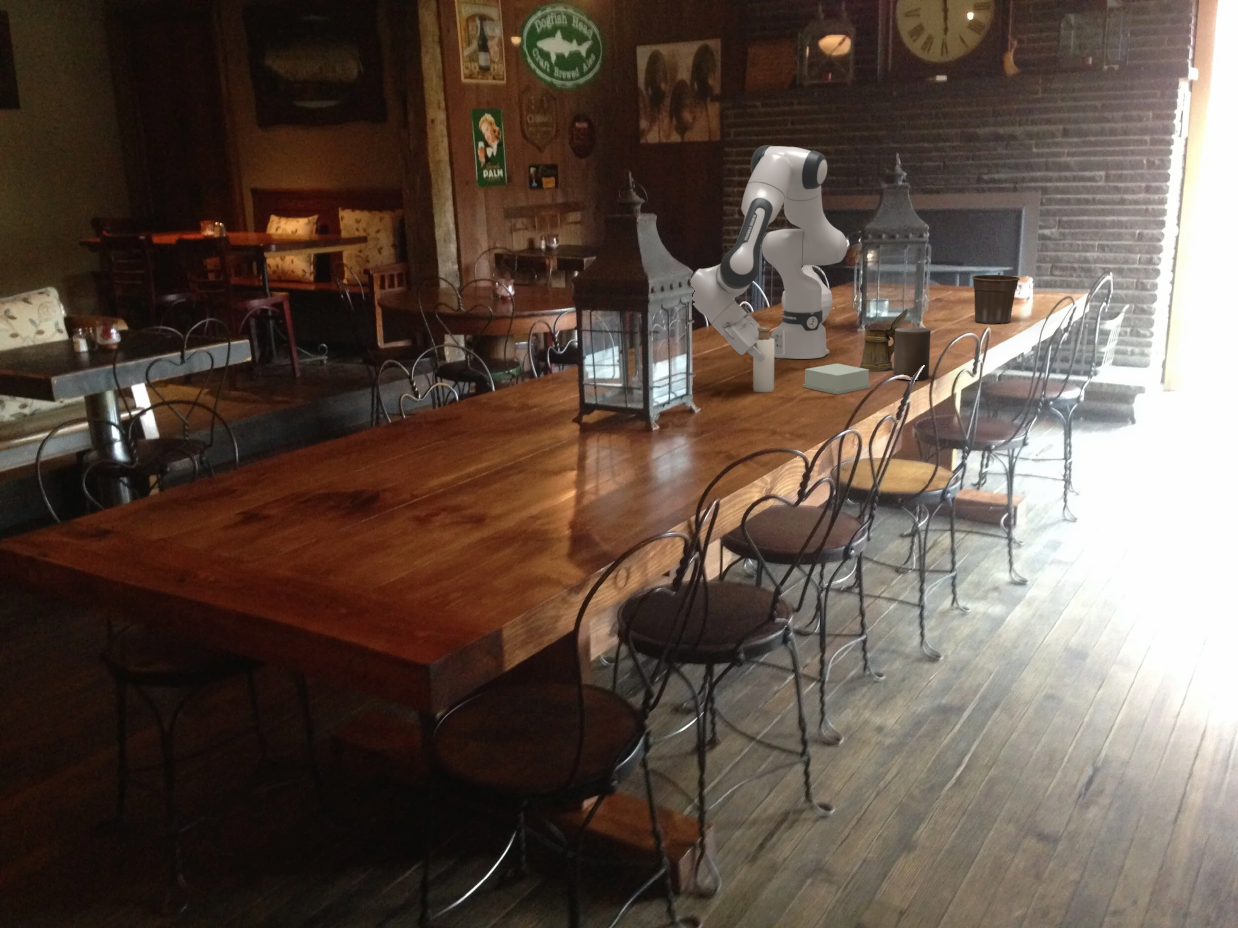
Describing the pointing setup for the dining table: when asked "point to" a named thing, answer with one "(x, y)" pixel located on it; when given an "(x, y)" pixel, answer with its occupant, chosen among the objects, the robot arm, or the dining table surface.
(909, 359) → the pillar candle
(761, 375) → the stoneware bottle
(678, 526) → the dining table surface
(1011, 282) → the plant pot
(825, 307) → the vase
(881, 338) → the wooden mug
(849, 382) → the plinth
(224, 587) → the dining table surface
